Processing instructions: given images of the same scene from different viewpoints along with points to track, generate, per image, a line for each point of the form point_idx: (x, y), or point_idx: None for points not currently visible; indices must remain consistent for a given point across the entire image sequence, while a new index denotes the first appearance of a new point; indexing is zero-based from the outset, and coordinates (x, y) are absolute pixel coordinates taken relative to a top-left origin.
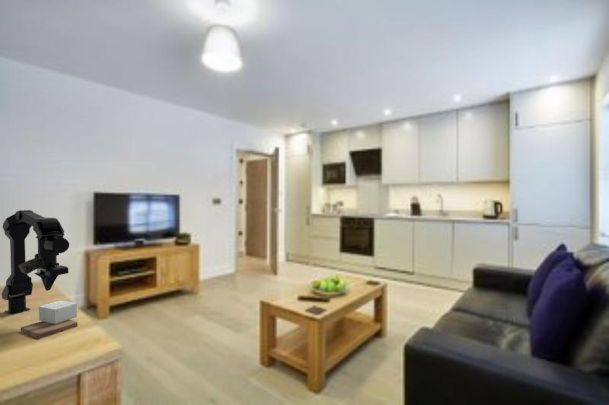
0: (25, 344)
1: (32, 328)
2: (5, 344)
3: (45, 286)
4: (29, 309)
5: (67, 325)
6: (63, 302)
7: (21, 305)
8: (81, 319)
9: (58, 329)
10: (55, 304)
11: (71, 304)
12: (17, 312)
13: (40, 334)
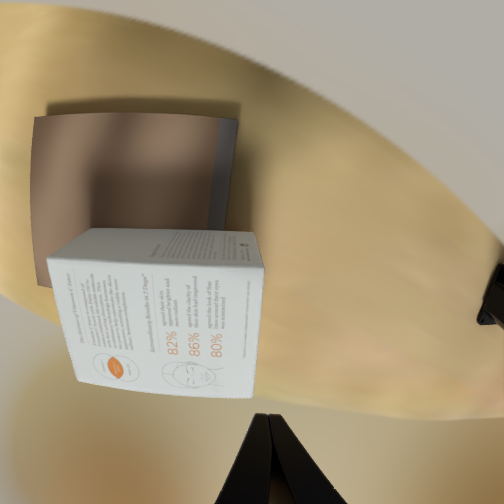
0: (46, 64)
1: (145, 137)
2: (128, 17)
3: (264, 449)
4: (477, 321)
5: (33, 242)
6: (169, 377)
7: (502, 307)
8: None
9: (33, 200)
10: (174, 338)
11: (73, 359)
12: (492, 283)
13: (34, 122)
